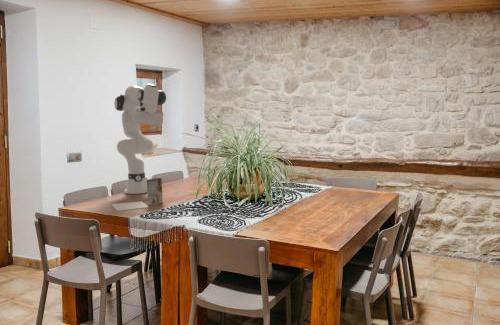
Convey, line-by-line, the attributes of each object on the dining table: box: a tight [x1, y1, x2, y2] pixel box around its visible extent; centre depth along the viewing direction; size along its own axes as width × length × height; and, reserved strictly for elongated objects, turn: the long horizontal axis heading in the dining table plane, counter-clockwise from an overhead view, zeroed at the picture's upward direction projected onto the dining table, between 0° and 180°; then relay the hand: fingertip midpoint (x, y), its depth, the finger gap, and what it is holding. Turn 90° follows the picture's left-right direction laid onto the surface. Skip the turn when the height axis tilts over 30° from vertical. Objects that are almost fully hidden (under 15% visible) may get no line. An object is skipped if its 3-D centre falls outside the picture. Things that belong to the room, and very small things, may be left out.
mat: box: [111, 200, 149, 212], centre depth 292 cm, size 20×19×1 cm
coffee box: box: [146, 177, 164, 206], centre depth 297 cm, size 9×6×16 cm
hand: (146, 130), depth 305 cm, fingers open, 8 cm apart
